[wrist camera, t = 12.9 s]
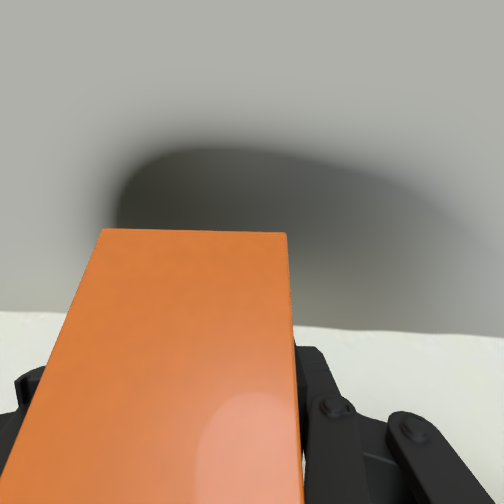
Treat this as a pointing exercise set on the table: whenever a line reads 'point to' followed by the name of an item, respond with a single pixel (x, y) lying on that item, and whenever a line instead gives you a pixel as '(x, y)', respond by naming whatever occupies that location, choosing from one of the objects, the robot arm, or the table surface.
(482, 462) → the table surface
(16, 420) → the robot arm
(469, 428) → the table surface
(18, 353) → the table surface
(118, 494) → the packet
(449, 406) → the table surface
